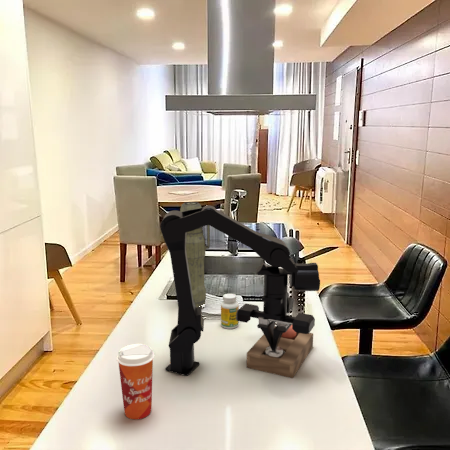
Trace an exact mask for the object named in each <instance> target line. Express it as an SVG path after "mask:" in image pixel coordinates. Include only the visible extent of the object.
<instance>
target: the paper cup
mask: <svg viewBox="0 0 450 450" xmlns="http://www.w3.org/2000/svg"><path fill="white" fill-rule="evenodd" d="M155 356H156V354H155V352H154V349H152V348H151V347H150V346H149V345H147V344H144V343H143V344H142V343H134V344H128V345H126V346H123V347H122V348H120V350H119V352H118V355H117V356H116V361H117V363H118V370H119V379H120V387H121V393H122V401H123V402H122V403H123V410H124V415H125V417H126V418H128V419H129V420H142V419H145V418H147V417H149V416H150V415H151V412H152V403H153V402H152V401H153V369H154V368H153V367H154V365H153V364H154V363H153V362H154V361H153V360H154V358H155Z"/></svg>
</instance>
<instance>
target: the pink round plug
mask: <svg viewBox="0 0 450 450" xmlns="http://www.w3.org/2000/svg"><path fill="white" fill-rule="evenodd" d="M281 337H282V338H287V339H292V340H294V339H295V338H296V332H295V331H294V330H293V329H292V325H291V326H290V328H289V329H288V330H287V331H286V332H285V333H283V334H282V336H281Z"/></svg>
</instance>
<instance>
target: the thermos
mask: <svg viewBox="0 0 450 450" xmlns="http://www.w3.org/2000/svg"><path fill="white" fill-rule="evenodd" d="M197 208H202V205H201V203H199V202H197V201H186V202H183V203H181V206H180V208H179V209H180V210H179V211H180V212H183V211H187V210H192V209H197ZM203 228H204V226H203V227H200V228H198V229H195V230H193V231H190V232H187V235H186V253H187V260H188V267H189V273H190V280H191V287H192V294H193V300H194V303H195V305H196V307H199V306H201V305H203V304H205V303H206V301H207V288H206V286H205V256H206V250H209V249H210V245H211V244H210V243H211V240H210V239H211V229H210V228H211V226H210V225H206V231H207V232H206V236H207V237H206V239H207V241H206V239H205V236H204V235H205V234H204V229H203ZM206 242H207V244H206Z"/></svg>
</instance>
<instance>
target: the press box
mask: <svg viewBox="0 0 450 450" xmlns="http://www.w3.org/2000/svg"><path fill="white" fill-rule="evenodd" d="M276 326H277V325H275V327H276ZM269 346H270V345H269V343H268V341H267V339H266V337H265V335H264V334H262V335H261V337H260V338H259V339H258V340H257V341H256V342H255V343H254V344H253V345H252V347H250V349H248V351H247V352H246V368H247V369H252V370H255V371H260V372H264V373H269V374H274V375H277V376H281V377H285V378H289V377H290V378H289V379H293V378H294V377H295V375H297V374H296V373H297V372H298V371H299V370H300V368H301V367H302V364H303V363H304V362H305V360H306V358H307V357H308V355H309V353H310V352H311V350H312V349H313V346H314V332H310V333H309V334H303V333H297V332H296V338H295V339H294V340H292V339H287V338H282V337H281V338H280V341H279V344H278V347H281V348H282V349H283V356H282V357H281V358H278V357H273V356H268V355H265V351H266V348H267V347H269Z"/></svg>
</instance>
